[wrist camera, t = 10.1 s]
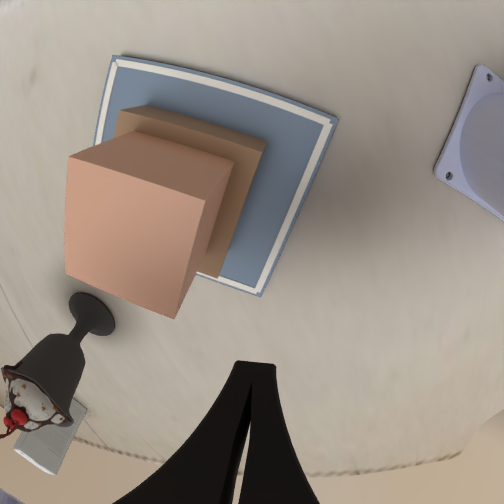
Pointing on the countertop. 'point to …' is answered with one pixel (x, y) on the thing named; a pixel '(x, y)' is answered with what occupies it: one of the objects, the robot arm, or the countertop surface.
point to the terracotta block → (141, 217)
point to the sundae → (52, 371)
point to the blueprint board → (242, 118)
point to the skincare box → (50, 442)
